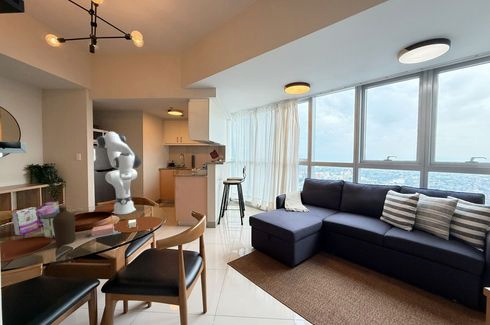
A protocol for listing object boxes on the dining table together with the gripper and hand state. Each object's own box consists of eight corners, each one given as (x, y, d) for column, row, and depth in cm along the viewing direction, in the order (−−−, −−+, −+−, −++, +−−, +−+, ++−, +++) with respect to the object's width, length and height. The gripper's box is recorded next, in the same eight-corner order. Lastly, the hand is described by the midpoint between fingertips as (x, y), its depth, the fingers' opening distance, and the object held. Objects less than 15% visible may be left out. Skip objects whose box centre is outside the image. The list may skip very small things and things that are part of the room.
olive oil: (68, 246, 126) (65, 207, 124) (50, 247, 125) (45, 208, 123) (80, 238, 137) (77, 202, 134) (63, 239, 136) (60, 202, 133)
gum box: (49, 226, 156) (47, 208, 155) (35, 228, 153) (33, 210, 151) (60, 215, 178) (58, 200, 176) (47, 217, 174) (46, 201, 173)
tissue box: (55, 230, 149) (53, 211, 147) (68, 231, 148) (66, 212, 146) (39, 237, 139) (37, 217, 137) (53, 237, 138) (51, 217, 136)
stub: (128, 227, 154) (128, 220, 153) (136, 225, 156) (135, 219, 156) (128, 229, 150) (128, 222, 149) (136, 228, 152) (136, 221, 151)
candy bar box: (33, 228, 152) (31, 206, 151) (39, 228, 151) (36, 207, 150) (14, 235, 142) (11, 212, 140) (19, 235, 141) (17, 212, 139)
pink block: (93, 232, 144) (93, 227, 144) (114, 229, 150) (113, 223, 150) (92, 236, 138) (91, 231, 138) (113, 232, 144) (113, 227, 144)
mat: (91, 232, 146) (91, 231, 146) (137, 224, 160) (136, 223, 160) (89, 239, 135) (89, 238, 135) (137, 230, 149) (137, 229, 149)
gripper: (121, 172, 161) (122, 189, 163) (121, 177, 143) (122, 196, 145) (130, 171, 164) (131, 188, 166) (131, 177, 147) (132, 195, 149)
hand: (127, 192), depth 156 cm, fingers open, 8 cm apart
